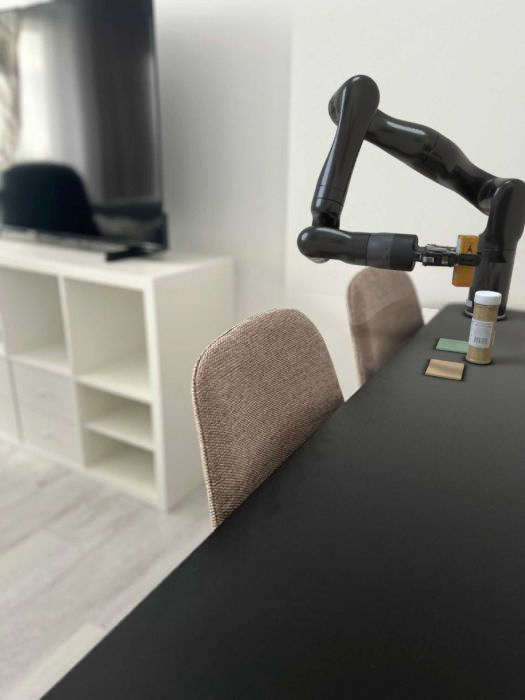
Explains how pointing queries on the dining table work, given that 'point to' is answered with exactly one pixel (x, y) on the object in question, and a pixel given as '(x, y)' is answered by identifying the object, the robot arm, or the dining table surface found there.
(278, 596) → the dining table surface
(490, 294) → the sprinkles bottle
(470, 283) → the supplement box
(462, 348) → the green mat
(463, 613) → the dining table surface
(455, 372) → the oak mat
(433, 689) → the dining table surface
